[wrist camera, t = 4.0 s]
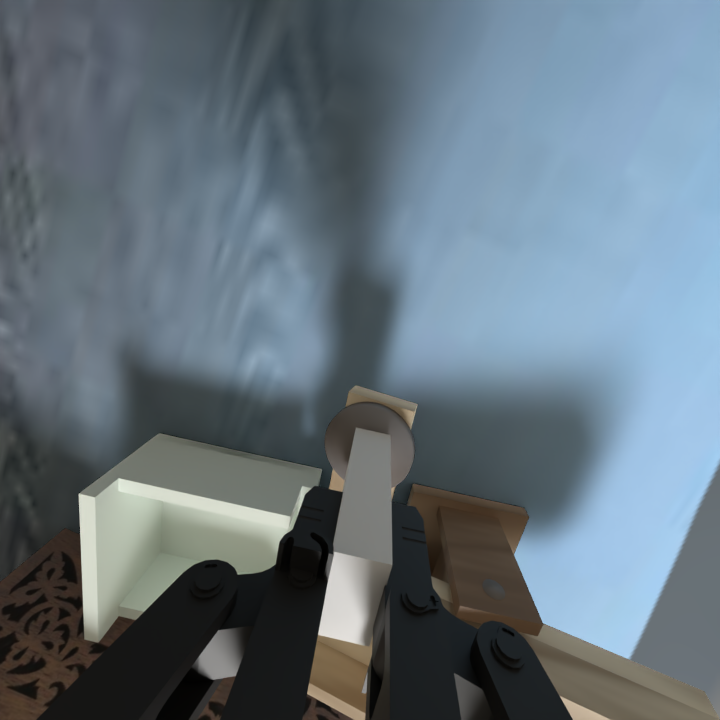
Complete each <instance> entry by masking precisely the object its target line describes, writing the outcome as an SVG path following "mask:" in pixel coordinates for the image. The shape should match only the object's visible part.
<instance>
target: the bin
mask: <svg viewBox="0 0 720 720" xmlns="http://www.w3.org/2000/svg"><path fill="white" fill-rule="evenodd" d="M321 473H322V469H319V468H315V467H310V466H306V465H301V464H297V463H292V462H288V461H283V460H279V459H274V458H270V457H265V456H260V455H256V454H251V453H247V452H242V451H238V450H233V449H229V448H224V447H220V446H215V445H211V444H206V443H202V442H197V441H192V440H188V439H183V438H179V437H174V436H170V435H165V434H161V433H158V434H157V435H156V436H154V437H153V438H152V439H150V440H149V441H148V442H147V443H145V444H144V445H143V446H141V447H140V448H139V449H137V450H136V451H135V452H133V453H132V454H131V455H129V456H128V457H127V458H125V459H124V460H123V461H121V462H120V463H119V464H117V465H116V466H115V467H113V468H112V469H111V470H109V471H108V472H107V473H105V474H104V475H103V476H101V477H100V478H99V479H97V480H96V481H95V482H93V483H92V484H91V485H89V486H88V487H87V488H85V489H84V490H83V491H82V492H80V493H79V515H80V540H81V565H82V591H83V616H84V639H85V640H89V641H93V642H97V643H99V641H100V640H101V639H102V638H103V636H104V635H105V634H106V632H107V631H108V630H109V628H110V627H111V626H112V624H113V623H114V622H115V620H116V619H117V618H118V616H121V617H125V618H129V619H134V620H136V619H137V618H138V617H139V616H140V615H141V614H142V613H143V612H144V611H145V610H146V609H147V608H148V607H149V606H150V605H151V604H152V603H153V602H154V601H155V600H156V599H157V598H158V597H159V596H160V595H161V594H162V593H163V592H164V591H165V590H166V589H167V588H168V587H169V586H170V585H171V584H172V583H173V582H174V581H175V580H176V579H177V578H178V577H179V576H180V575H181V574H182V573H183V572H184V571H186V570H187V569H189V568H190V567H191V566H193V565H194V564H197V563H199V562H202V561H205V560H215V559H218V560H221V561H225V562H228V563H229V564H230V565H232V566H233V567H234V568H235V570H236V572H237V574H238V575H240V574H252V573H258V572H262V571H265V570H267V569H270V568H271V567H273V566H274V565H276V559H277V553H278V547H279V542H280V541H281V539H282V538H283V536H284V535H285V534H286V533H288V532H290V531H291V530H293V527H294V524H295V521H296V519H297V516H298V513H299V510H300V508H301V505H302V502H303V499H304V496H305V494H306V493H307V492H308V491H309V490H310V489H312V488H313V487H314V486H318V487H319V483H320V478H321Z"/></svg>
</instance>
